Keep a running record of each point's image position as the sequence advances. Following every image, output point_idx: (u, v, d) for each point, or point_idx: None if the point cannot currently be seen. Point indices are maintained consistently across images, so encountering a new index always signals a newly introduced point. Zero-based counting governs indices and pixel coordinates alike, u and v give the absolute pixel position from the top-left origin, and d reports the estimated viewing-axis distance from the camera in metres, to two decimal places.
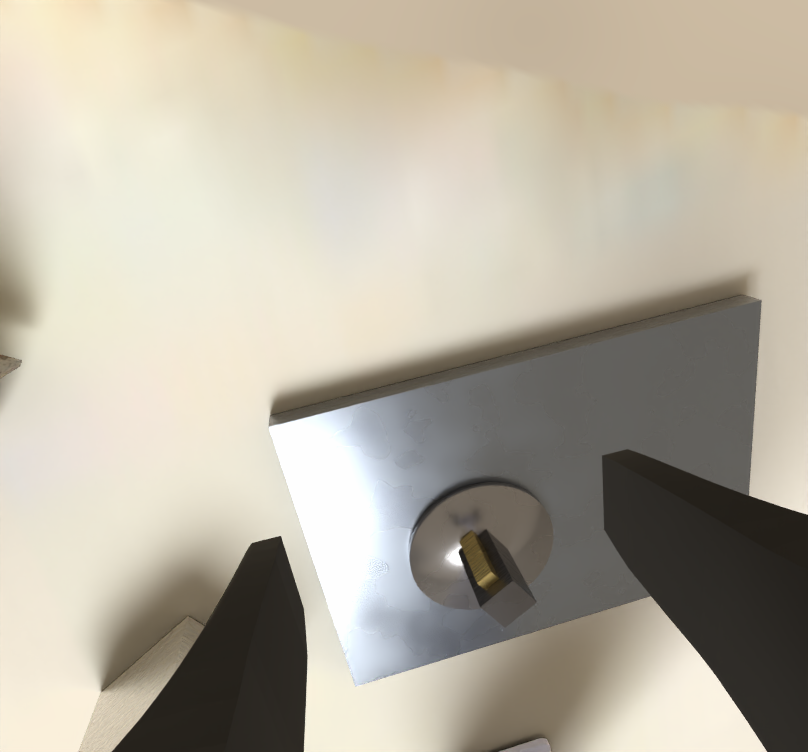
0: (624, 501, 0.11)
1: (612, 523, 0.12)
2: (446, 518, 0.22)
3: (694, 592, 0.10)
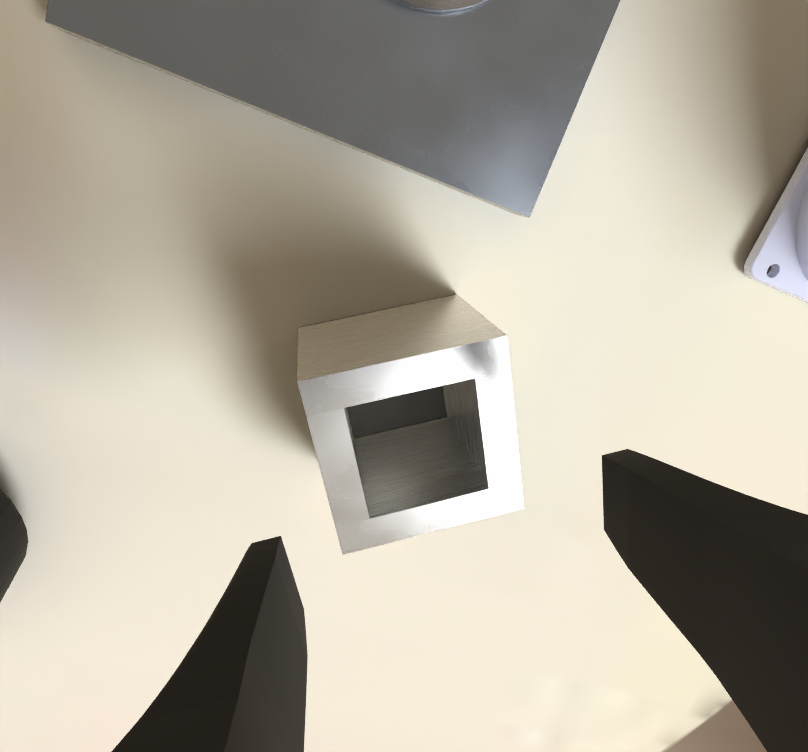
0: (624, 501, 0.11)
1: (612, 523, 0.12)
2: None
3: (694, 592, 0.10)
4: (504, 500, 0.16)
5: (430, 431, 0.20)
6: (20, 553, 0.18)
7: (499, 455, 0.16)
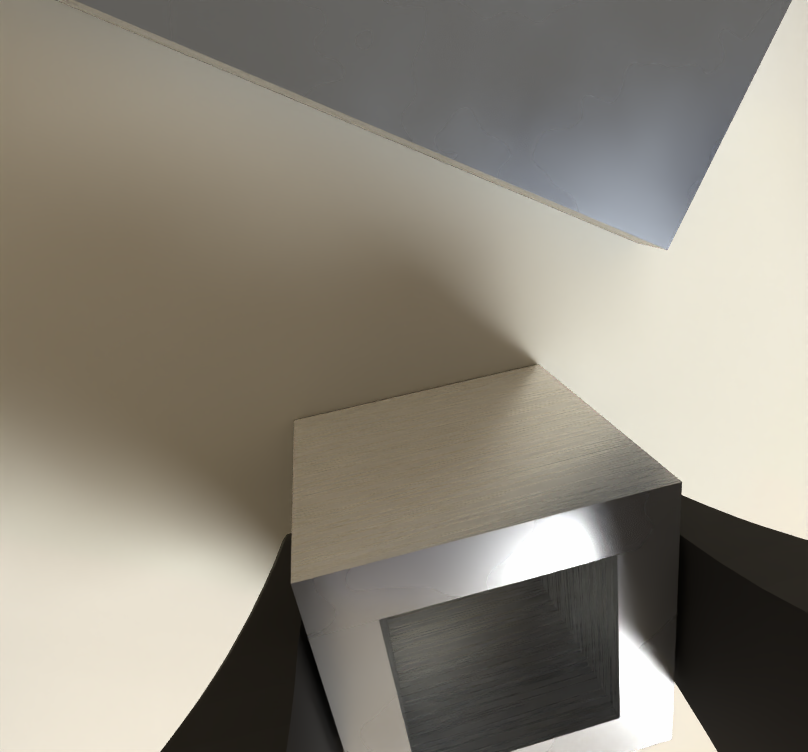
0: None
1: None
2: None
3: None
4: (642, 731, 0.10)
5: None
6: None
7: (644, 667, 0.09)
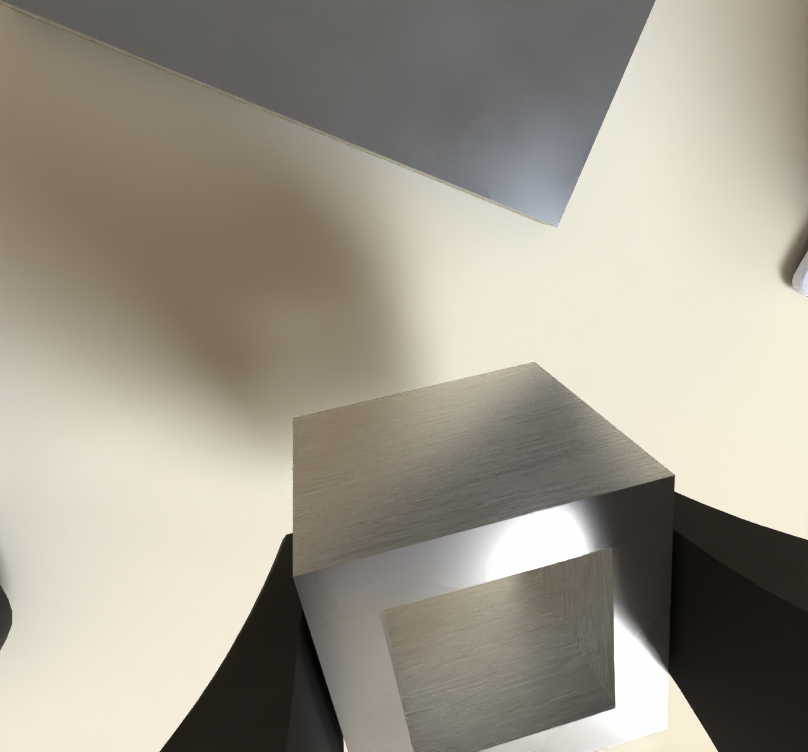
0: None
1: None
2: None
3: None
4: (637, 721, 0.10)
5: None
6: (2, 640, 0.16)
7: (639, 659, 0.09)
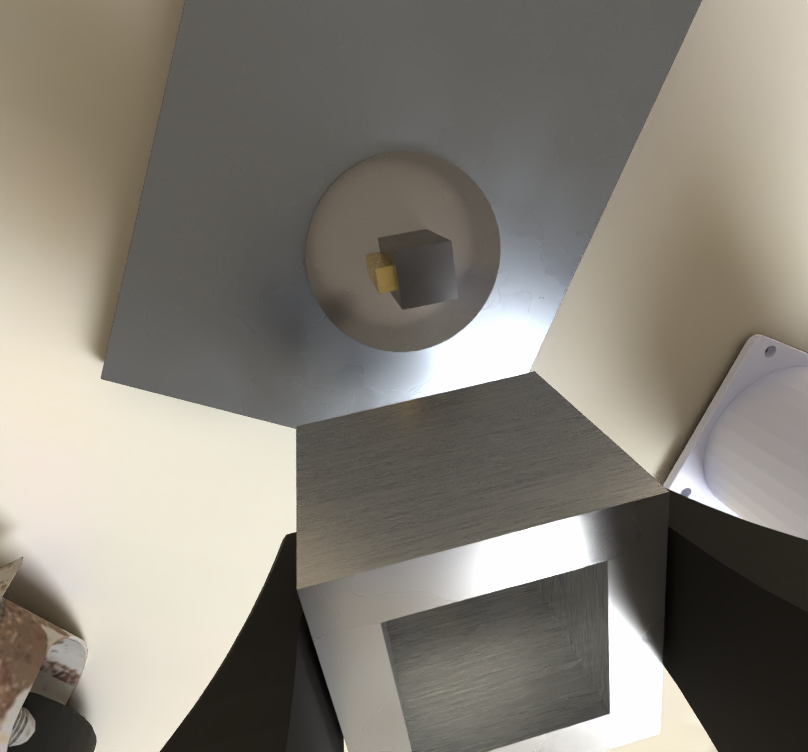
0: None
1: None
2: (328, 273, 0.17)
3: None
4: (631, 726, 0.10)
5: None
6: None
7: (633, 666, 0.09)
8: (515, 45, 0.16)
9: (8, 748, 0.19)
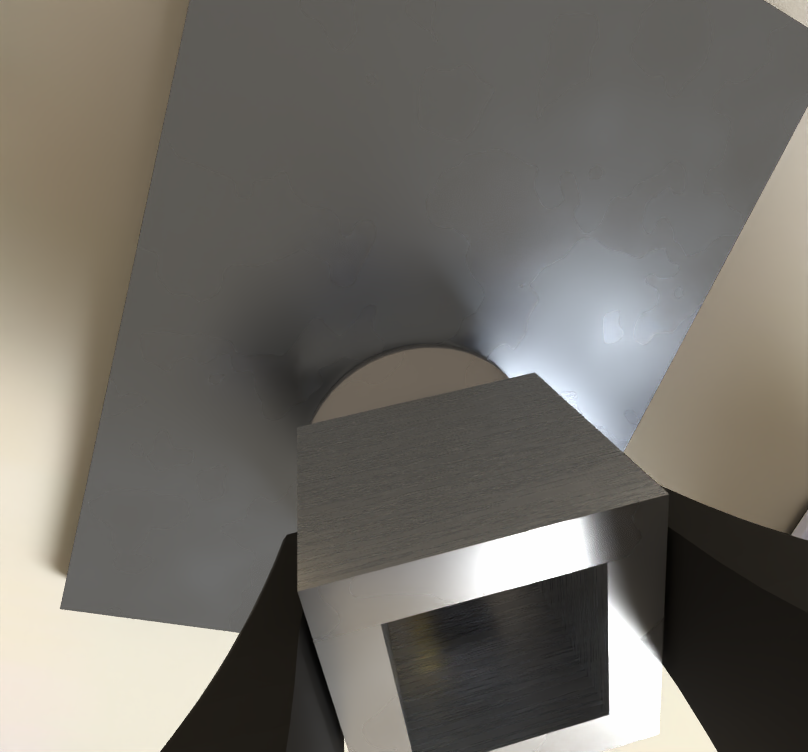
0: None
1: None
2: None
3: None
4: (631, 726, 0.10)
5: None
6: None
7: (632, 667, 0.09)
8: (555, 219, 0.13)
9: None
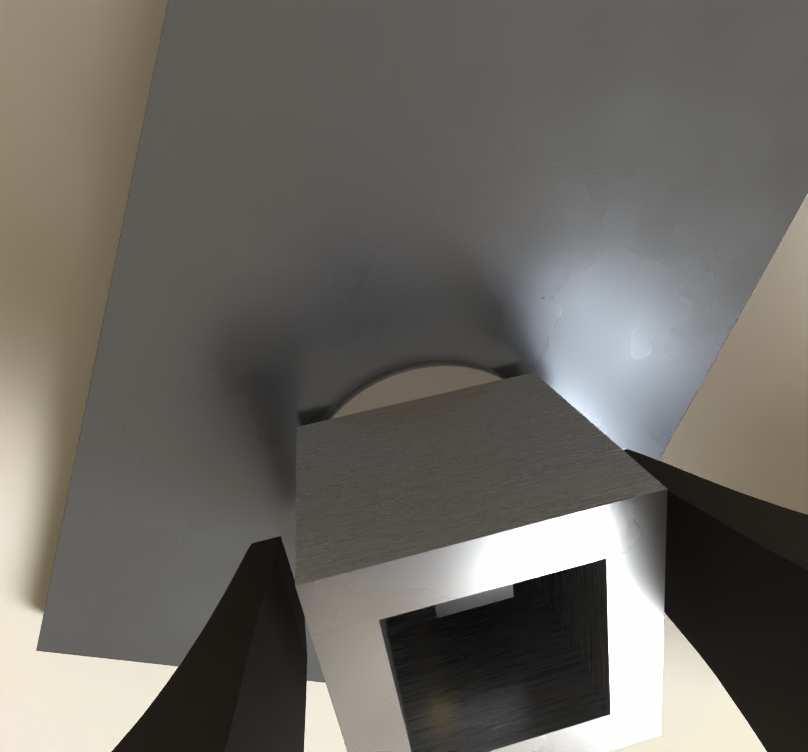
0: None
1: None
2: None
3: (694, 592, 0.10)
4: (632, 727, 0.10)
5: None
6: None
7: (633, 666, 0.09)
8: (582, 225, 0.12)
9: None
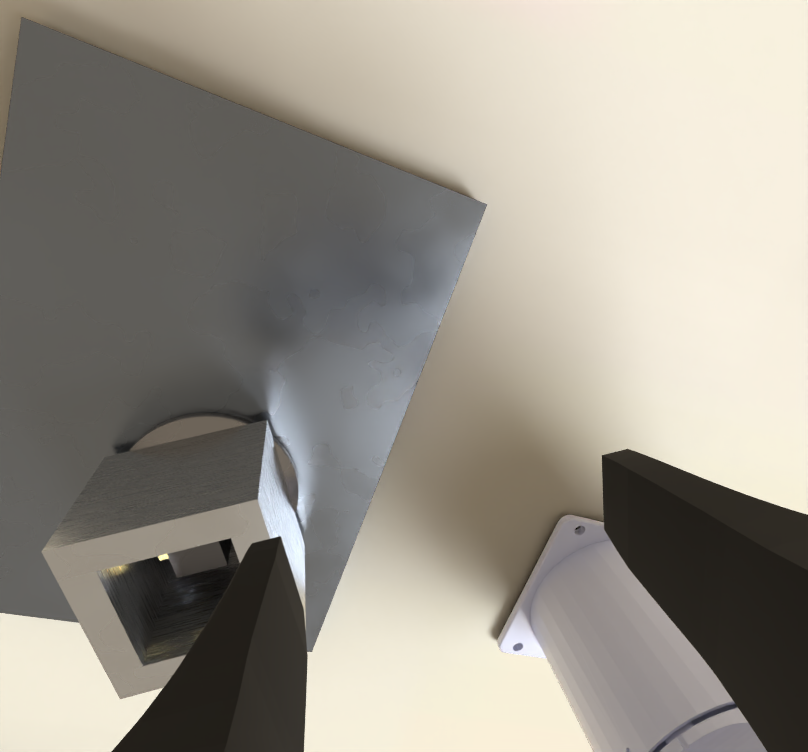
0: (624, 501, 0.11)
1: (612, 523, 0.12)
2: None
3: (694, 592, 0.10)
4: None
5: None
6: None
7: None
8: (289, 325, 0.19)
9: None
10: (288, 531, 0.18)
